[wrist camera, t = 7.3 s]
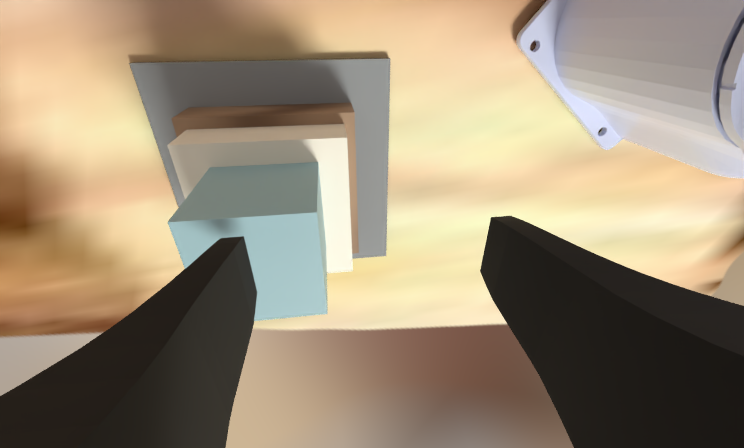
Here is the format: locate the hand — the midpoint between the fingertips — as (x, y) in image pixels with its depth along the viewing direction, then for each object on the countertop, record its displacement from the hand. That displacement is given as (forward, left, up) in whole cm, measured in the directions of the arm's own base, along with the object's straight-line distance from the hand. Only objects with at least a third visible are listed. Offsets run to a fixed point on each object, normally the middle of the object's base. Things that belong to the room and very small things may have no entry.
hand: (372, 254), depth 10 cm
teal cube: (+2, +3, -6) cm, 7 cm away
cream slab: (+2, +4, -8) cm, 9 cm away
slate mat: (+2, +4, -10) cm, 11 cm away
